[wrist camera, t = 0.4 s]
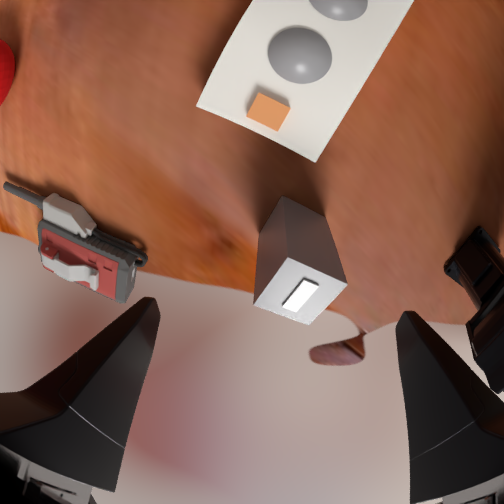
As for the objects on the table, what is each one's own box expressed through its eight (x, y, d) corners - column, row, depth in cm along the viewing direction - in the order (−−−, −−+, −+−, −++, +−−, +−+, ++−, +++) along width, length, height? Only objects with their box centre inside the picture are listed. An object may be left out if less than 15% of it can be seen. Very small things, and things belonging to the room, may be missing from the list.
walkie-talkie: (157, 231, 23) (11, 171, 20) (138, 261, 20) (-14, 188, 16) (143, 293, 28) (16, 232, 25) (129, 323, 25) (-4, 251, 21)
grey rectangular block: (325, 217, 21) (348, 286, 15) (300, 253, 23) (309, 326, 17) (282, 195, 20) (287, 258, 14) (258, 234, 23) (253, 306, 16)
